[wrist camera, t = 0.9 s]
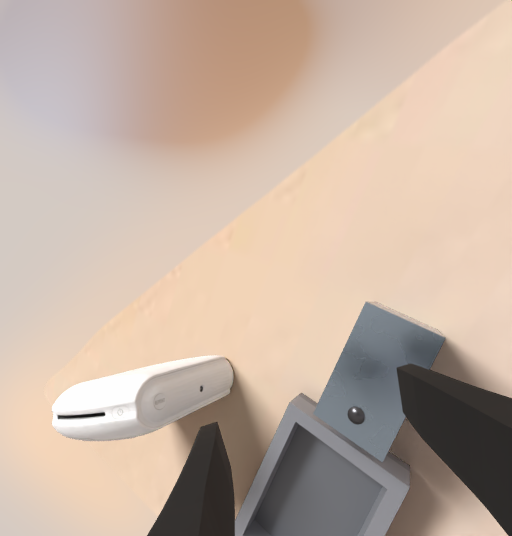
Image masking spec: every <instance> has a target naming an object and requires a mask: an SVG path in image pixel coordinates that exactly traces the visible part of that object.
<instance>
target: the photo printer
mask: <svg viewBox="0 0 512 536" xmlns="http://www.w3.org/2000/svg"><path fill="white" fill-rule="evenodd" d="M233 379H234V376H233V370H232V367H231V365H230V363H229V362H228V360H226V359H225V356H218V355H212V356H202V357H194V358H188V359H182V360H176V361H171V362H166V363H161V364H157V365H152V366H148V367H143V368H139V369H135V370H131V371H127V372H123V373H119V374H115V375H111V376H107V377H103V378H99V379H95V380H91V381H86V382H82V383H79V384H77V385H75V386H72V387H71V388H69V389H68V390H66V391H65V392H64V393H63V394H61V395H60V396H59V398H58V399H57V400H56V402H55V403H54V405H53V407H52V411H53V422H52V425H53V427H54V428H55V429H56V430H57V431H58V432H59V433H61V434H62V435H63V436H66V437H68V438H72V439H76V440H83V441H111V440H121V439H129V438H134V437H137V436H141V435H145V434H148V433H151V432H154V431H156V430H158V429H160V428H162V427H164V426H166V425H168V424H170V423H172V422H174V421H176V420H178V419H180V418H182V417H184V416H186V415H188V414H190V413H192V412H194V411H196V410H198V409H200V408H202V407H204V406H206V405H208V404H210V403H212V402H214V401H216V400H218V399H220V398H223V397H225V396H226V395H228V394H229V393H230V388H231V387H232V384H233Z"/></svg>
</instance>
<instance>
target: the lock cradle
mask: <svg viewBox="0 0 512 536" xmlns="http://www.w3.org/2000/svg"><path fill="white" fill-rule="evenodd" d="M316 406H317V403H316V402H314V401H313V400H312V399H310V398H309V397H307V396H306V395H304V394H303V393H300V394H299V395H298V396H297V397H296V398H294V399H293V400H292V401H291V402H290V403H289V405H288V407H287V409H286V411H285V413H284V416H283V418H282V420H281V422H280V424H279V427H278V429H277V431H276V433H275V435H274V437H273V440H272V442H271V444H270V446H269V448H268V450H267V453H266V455H265V457H264V459H263V461H262V463H261V466H260V468H259V470H258V472H257V474H256V476H255V479H254V481H253V483H252V485H251V487H250V489H249V492H248V494H247V496H246V498H245V500H244V502H243V505H242V507H241V509H240V511H239V513H238V515H237V518H236V520H235V536H385V534H386V532H387V530H388V529H389V527H390V525H391V523H392V521H393V519H394V517H395V515H396V513H397V511H398V509H399V508H400V506H401V504H402V502H403V500H404V498H405V496H406V494H407V492H408V490H409V488H410V466H409V465H408V464H406V463H405V462H403V461H402V460H400V459H399V458H397V457H396V456H394V455H393V454H391V453H390V452H388V453H387V455H386V457H385V459H384V461H383V462H381V461H380V460H378V459H377V458H375V457H374V456H373V455H371V454H370V453H368V452H367V451H365V450H364V449H363V448H361V447H360V446H358V445H357V444H355V443H354V442H353V441H351V440H350V439H348V438H347V437H345V436H344V435H343V434H341V433H340V432H338V431H337V430H335V429H334V428H333V427H331V426H330V425H328V424H327V423H325V422H324V421H323V420H321V419H320V418H318V417H317V416H315V415H314V414H313V413H314V411H315V409H316Z"/></svg>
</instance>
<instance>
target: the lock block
mask: <svg viewBox="0 0 512 536" xmlns="http://www.w3.org/2000/svg"><path fill="white" fill-rule="evenodd" d="M444 340H445V337H444V336H443V335H442V334H441V333H440V332H439V331H438V330H437V329H435V328H433V327H431V326H428V325H426V324H424V323H422V322H420V321H417V320H415V319H413V318H411V317H408V316H406V315H404V314H402V313H399V312H397V311H395V310H393V309H391V308H388V307H386V306H384V305H382V304H379V303H377V302H366V303H365V305H364V307H363V309H362V311H361V313H360V315H359V317H358V320H357V322H356V324H355V326H354V328H353V330H352V332H351V334H350V336H349V339H348V341H347V343H346V345H345V347H344V349H343V351H342V353H341V356H340V358H339V360H338V362H337V364H336V366H335V368H334V370H333V373H332V375H331V377H330V379H329V381H328V383H327V385H326V387H325V390H324V392H323V394H322V396H321V398H320V400H319V402H318V404H317V406H316V409H315V411H314V413H313V414H314V415H315V416H317V417H318V418H320V419H321V420H323V421H324V422H325V423H327V424H328V425H330V426H331V427H333V428H334V429H335V430H337V431H338V432H340V433H341V434H343V435H344V436H345V437H347V438H348V439H350V440H351V441H353V442H354V443H355V444H357V445H358V446H360V447H361V448H363V449H364V450H365V451H367V452H368V453H370V454H371V455H373V456H374V457H375V458H377V459H378V460H380V461H381V462H383V461H384V459H385V457H386V455H387V453H388V451H389V449H390V447H391V445H392V443H393V441H394V439H395V437H396V435H397V433H398V431H399V429H400V427H401V425H402V423H403V421H404V419H405V417H406V416H405V415H404V413H403V410H402V403H401V396H400V389H399V382H398V376H397V369H396V368H397V367H400V366H404V365H407V364H410V363H411V364H414V365H417V366H420V367H423V368H426V369H429V370H430V368H431V366H432V364H433V362H434V360H435V358H436V356H437V354H438V352H439V350H440V348H441V346H442V344H443V342H444Z"/></svg>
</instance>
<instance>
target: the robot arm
mask: <svg viewBox="0 0 512 536" xmlns="http://www.w3.org/2000/svg"><path fill="white" fill-rule="evenodd" d="M396 369H397V376H398V382H399V389H400V396H401V403H402V410H403V413H404V415H405V416H406V417H407V419H408V420H409V421H410V423H411V424H412V426H413V427H414V428H415V430H416V431H417V432H418V434H419V435H420V436H421V437H422V438H423V440H424V441H425V442H426V443H427V444H428V445H429V446H430V447H431V448H432V449H433V450H434V452H435V453H436V454H437V455H438V456H439V457H440V458H441V459H442V460H443V461H444V462H445V463H446V464H447V465H448V467H449V468H450V469H451V470H452V471H453V472H454V473H455V474H456V475H457V476H458V477H459V478H460V479H461V480H462V482H463V483H464V484H465V485H466V486H467V487H468V488H469V489H470V490H471V491H472V492H473V493H474V494H475V496H476V497H477V498H478V499H479V500H480V501H481V502H482V503H483V505H484V506H485V507H486V508H487V509H488V511H489V512H490V513H491V514H492V516H493V517H494V518H495V519H496V521H497V522H498V523H499V524H500V526H501V527H502V528H503V529H504V531H505V532H506V533H507V534H508V536H512V398H509V397H506V396H502V395H499V394H496V393H493V392H490V391H487V390H484V389H481V388H478V387H475V386H472V385H469V384H466V383H464V382H461V381H458V380H455V379H453V378H450V377H447V376H445V375H442V374H439V373H437V372H434V371H431V370H429V369H426V368H423V367H420V366H417V365H414V364H411V363H410V364H407V365H404V366H400V367H397V368H396ZM147 536H235V508H234V490H233V481H232V472H231V466H230V462H229V459H228V456H227V453H226V449H225V446H224V443H223V439H222V436H221V433H220V429H219V426H218V423H217V422H216V423H212V424H209V425H206V426H202V427H201V428H200V430H199V432H198V434H197V437H196V439H195V442H194V444H193V447H192V449H191V452H190V454H189V456H188V459H187V461H186V463H185V465H184V467H183V470H182V472H181V474H180V476H179V478H178V480H177V482H176V484H175V486H174V488H173V490H172V492H171V494H170V496H169V498H168V500H167V502H166V504H165V506H164V507H163V509H162V511H161V513H160V515H159V516H158V518H157V520H156V522H155V523H154V525H153V527H152V528H151V530H150V532H149V533H148V535H147Z"/></svg>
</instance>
